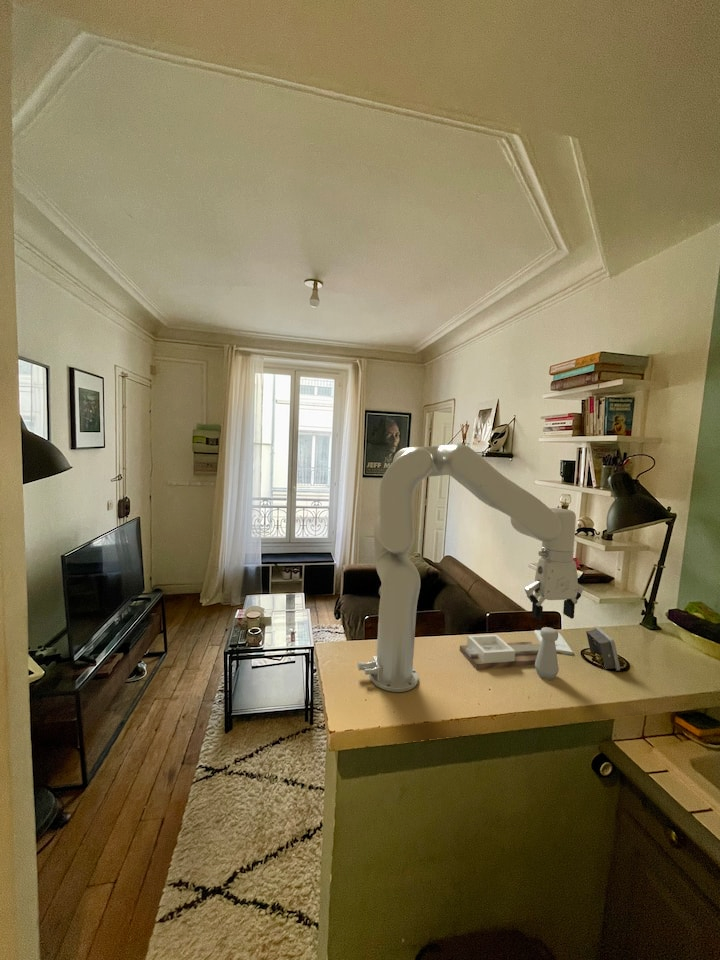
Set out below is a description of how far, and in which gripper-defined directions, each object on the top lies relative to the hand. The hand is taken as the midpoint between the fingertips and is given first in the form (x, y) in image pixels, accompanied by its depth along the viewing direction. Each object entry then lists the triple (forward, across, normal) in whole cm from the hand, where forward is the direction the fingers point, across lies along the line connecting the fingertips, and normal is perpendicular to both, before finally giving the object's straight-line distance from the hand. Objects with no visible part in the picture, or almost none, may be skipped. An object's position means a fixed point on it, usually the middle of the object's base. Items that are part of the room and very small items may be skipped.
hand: (552, 617), depth 100 cm
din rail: (+15, -7, +10) cm, 19 cm away
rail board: (+16, -7, +10) cm, 20 cm away
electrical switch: (+17, +21, +4) cm, 27 cm away
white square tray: (+14, -12, +10) cm, 21 cm away
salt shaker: (+16, -1, 0) cm, 17 cm away
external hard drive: (+17, +14, +16) cm, 28 cm away
